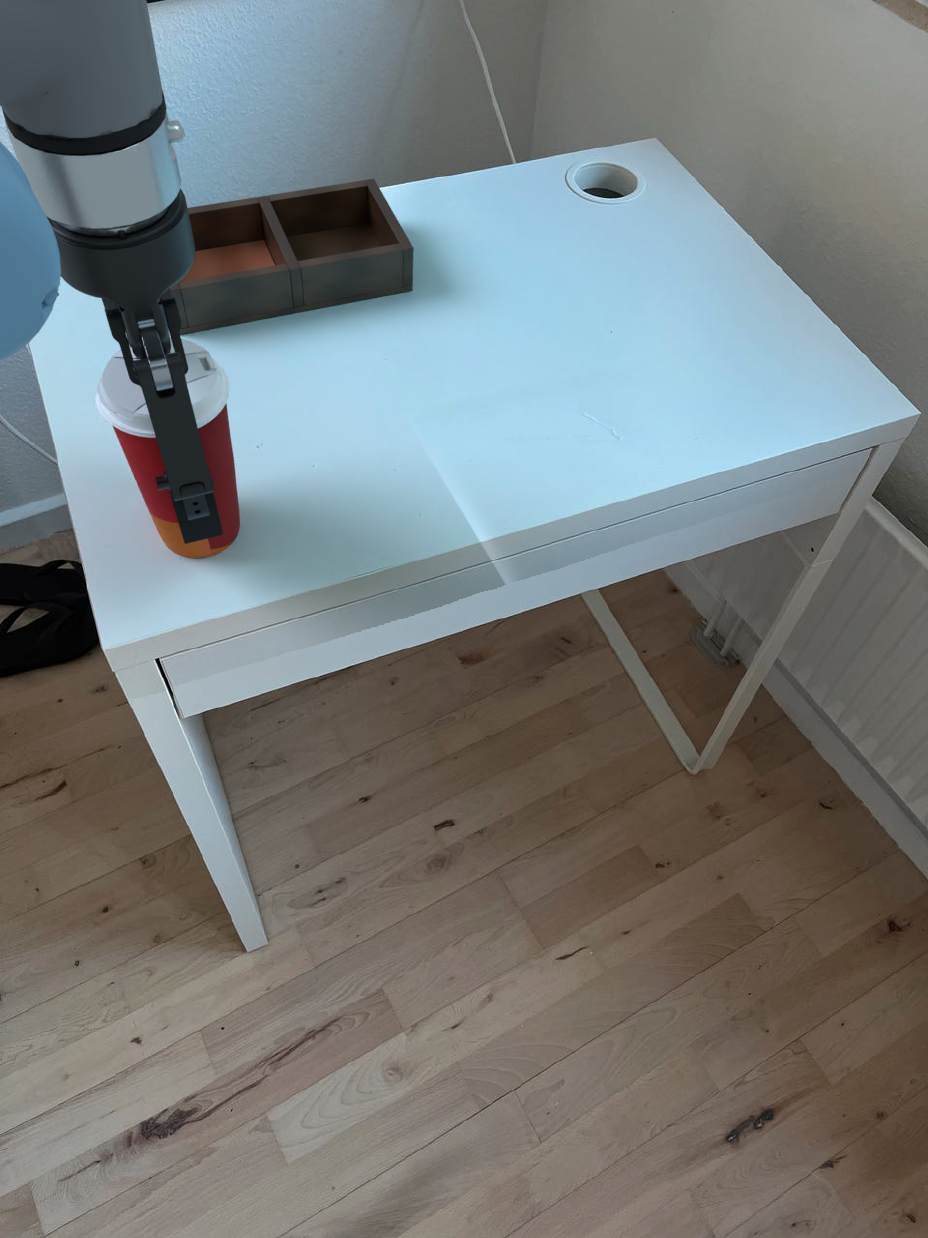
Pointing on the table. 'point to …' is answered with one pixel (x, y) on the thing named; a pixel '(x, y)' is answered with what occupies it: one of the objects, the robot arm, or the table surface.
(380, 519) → the table surface
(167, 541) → the coffee cup
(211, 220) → the cup holder
